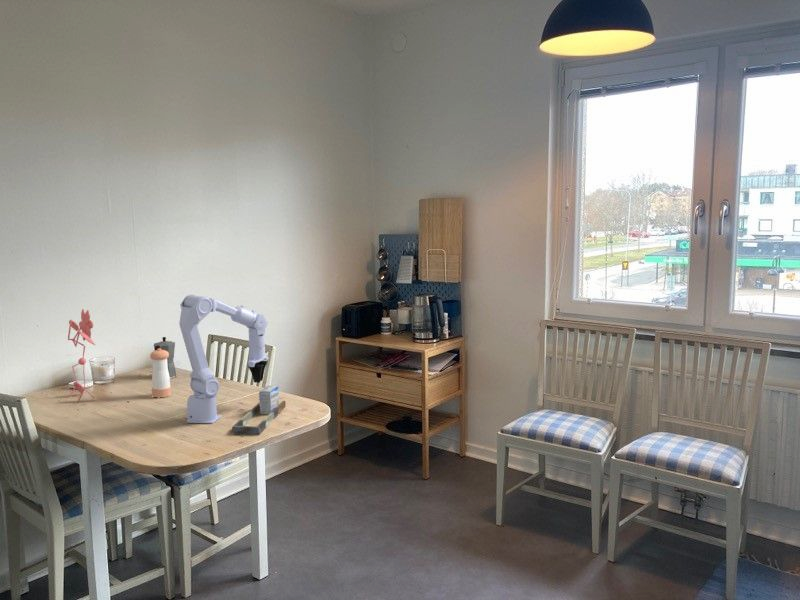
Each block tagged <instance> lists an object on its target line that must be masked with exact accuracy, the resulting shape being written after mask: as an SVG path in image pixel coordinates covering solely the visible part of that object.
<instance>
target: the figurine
mask: <svg viewBox="0 0 800 600" xmlns="http://www.w3.org/2000/svg"><path fill="white" fill-rule="evenodd" d="M90 318H91V314H90V310H88V309H87V310H86V311H85V310H84V309H81V312H80V319H81V321H79V322H78V323H77V322H75V321H74V320H72V319H69V320H68V323H69V328H68V335H67V340H68V341H72V342H73V344H74V346H75V348H77V345H78V344H79V345H81V346H83V350H82V351H83V353H82V357H80V358H79V359H78V361H77V362H78V363H76V364H74V365H72V370H73V371H72V372H73V375H74V379H75V381H74V382H73V390H72V391H71V394H70V396H73V394H74V392H75V390H76V391H78V392H79V393H80V394H79V396H78V397H79V398H78V399H77V401H79V402H80V400H81V399H82V396H83V394H84V391H85V392H87V393H88V395H89V396H91V398H93V399H94V400H95V399H96V398H95V397H94V396H93V395H92V394H91V392H89V391H88V390H87V389H86V388H87V386H86V375H85V366H86V365H85V364H86V362H87V360H86V359H85V352H86V351H85V349H86V346H85V344H84V343H82V342H79V338H80V335H81V337H82V340H83V342H84V341H85V340H86V341H87V342H88V343H90V344H92V345H94V346H96V343H95V342H94V341H93V339H92V330H91V329H92V328H94V323H93V321H92V320H90ZM72 329H73V330H75V331H76V333H75V335H74V337H73V338H70V335H71V330H72ZM78 365H81V366H82V365H83V366H82V367H83V369H82V370H83V371H82V373H83V383H84V384H83V385H84V386H83V385H81V384H80V383H79V382H78V379H77V376H76V372H75V369H74V367H76V366H78Z"/></svg>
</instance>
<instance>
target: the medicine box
mask: <svg viewBox="0 0 800 600" xmlns="http://www.w3.org/2000/svg"><path fill="white" fill-rule="evenodd" d="M279 391H280V390H279V386H278V385H267V386H265V387H264V388H262V389H260V390H259V391H258V400H259V402H260V412H259V414H260V415H269V414H270V413H271V412H272V411H273V410H274V409H275V408H276V407H277V406H278V405H279V404H280V395H279ZM259 402H258V403H259Z"/></svg>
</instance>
